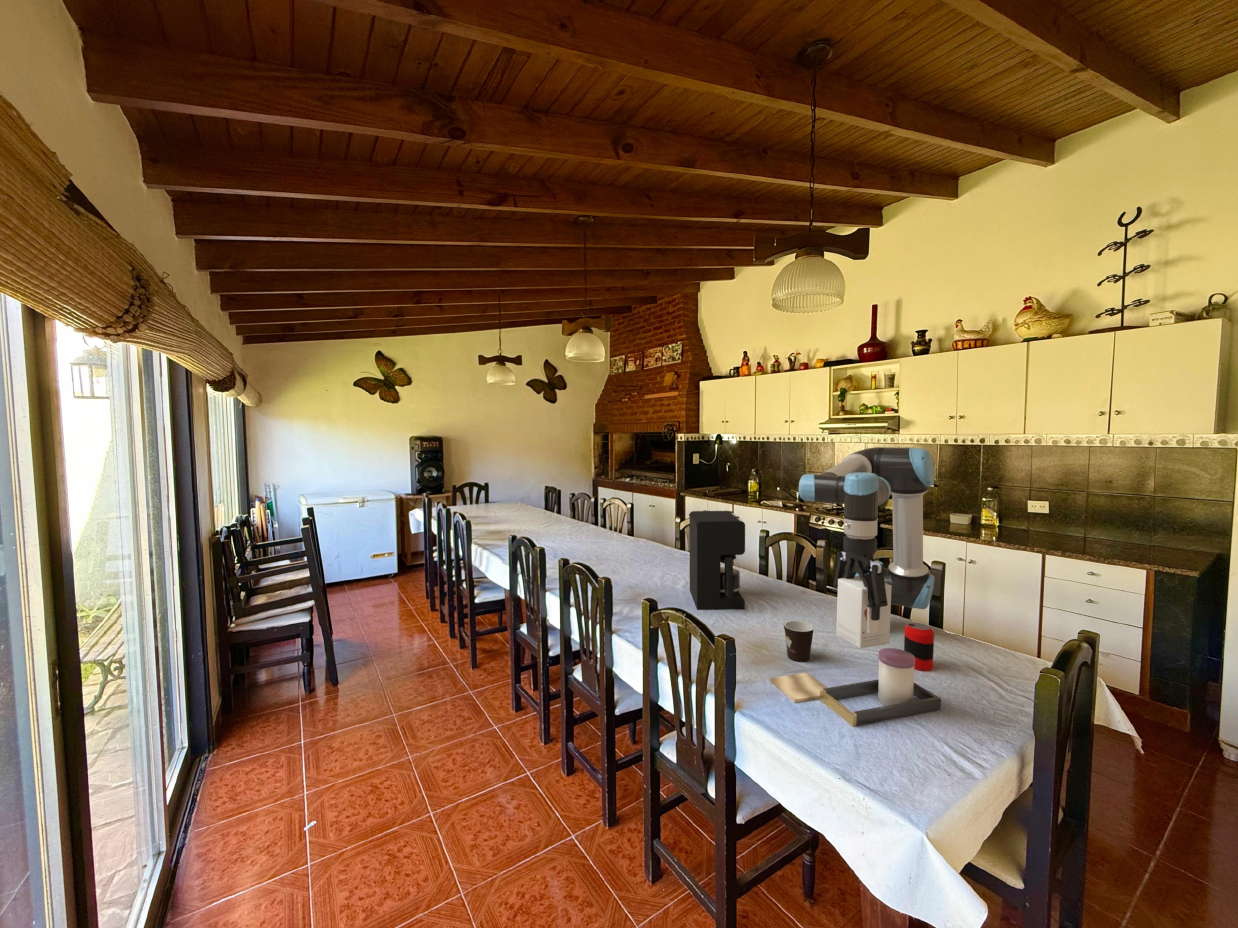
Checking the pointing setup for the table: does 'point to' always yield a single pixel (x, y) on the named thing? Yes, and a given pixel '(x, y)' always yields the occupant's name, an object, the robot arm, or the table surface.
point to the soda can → (920, 645)
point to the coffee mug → (798, 640)
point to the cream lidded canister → (895, 676)
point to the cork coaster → (799, 686)
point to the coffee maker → (715, 559)
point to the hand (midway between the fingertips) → (858, 624)
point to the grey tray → (878, 714)
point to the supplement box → (860, 614)
